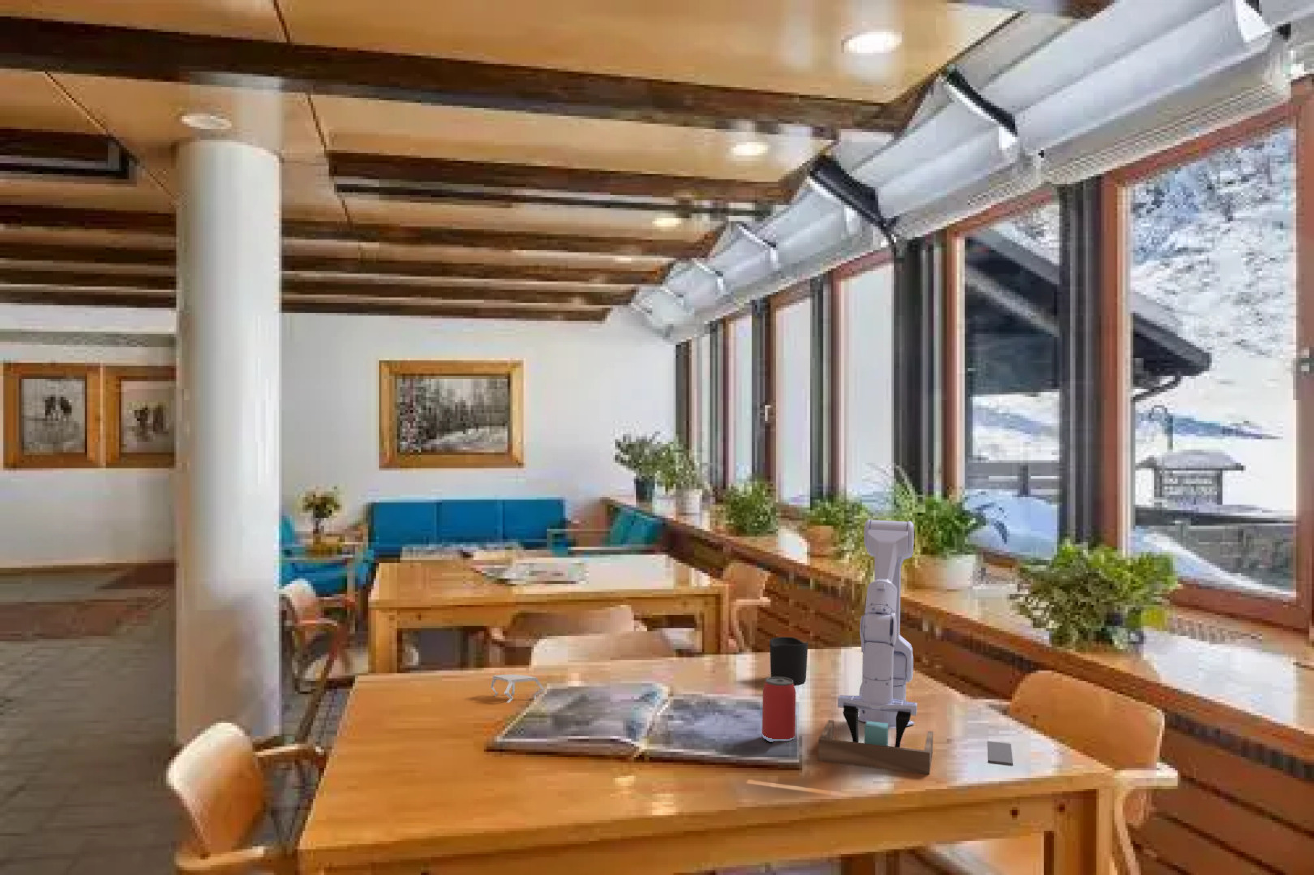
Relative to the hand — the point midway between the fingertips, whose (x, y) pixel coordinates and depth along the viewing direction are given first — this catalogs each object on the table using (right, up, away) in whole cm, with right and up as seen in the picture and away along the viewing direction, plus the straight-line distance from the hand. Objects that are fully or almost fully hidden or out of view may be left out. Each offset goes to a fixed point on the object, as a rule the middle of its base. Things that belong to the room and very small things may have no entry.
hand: (876, 748), depth 180 cm
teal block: (0, -1, 0) cm, 1 cm away
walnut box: (0, -2, 0) cm, 2 cm away
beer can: (-17, -2, +11) cm, 20 cm away
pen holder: (-9, -2, +57) cm, 58 cm away
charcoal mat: (+21, -2, +5) cm, 22 cm away
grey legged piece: (-74, -1, +38) cm, 83 cm away
